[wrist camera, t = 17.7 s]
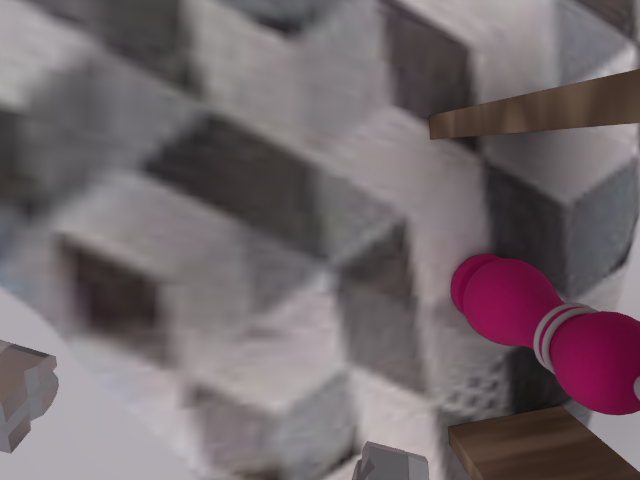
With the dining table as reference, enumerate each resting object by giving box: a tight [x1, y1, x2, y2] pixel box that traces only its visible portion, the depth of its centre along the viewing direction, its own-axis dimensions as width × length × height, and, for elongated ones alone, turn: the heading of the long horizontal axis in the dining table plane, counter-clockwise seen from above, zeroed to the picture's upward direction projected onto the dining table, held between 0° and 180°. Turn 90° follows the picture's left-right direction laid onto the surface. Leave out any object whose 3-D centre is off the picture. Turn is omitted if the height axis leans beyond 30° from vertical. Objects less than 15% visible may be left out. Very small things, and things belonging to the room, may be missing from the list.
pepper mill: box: [451, 254, 640, 415], centre depth 33 cm, size 7×7×20 cm
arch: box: [429, 69, 640, 480], centre depth 28 cm, size 32×12×29 cm, turn 7°
